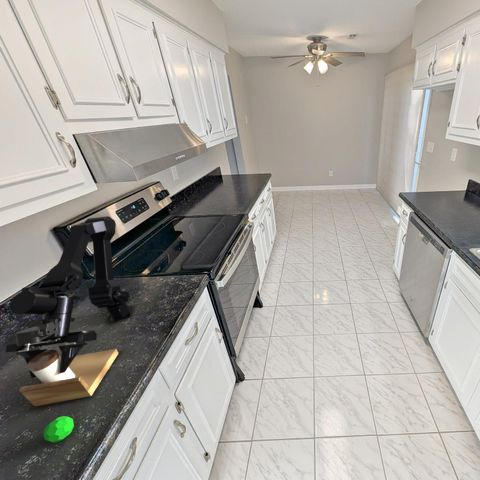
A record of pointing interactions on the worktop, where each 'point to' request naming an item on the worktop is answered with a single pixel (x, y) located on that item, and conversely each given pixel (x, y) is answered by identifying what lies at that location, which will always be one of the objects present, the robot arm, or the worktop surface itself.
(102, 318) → the worktop surface
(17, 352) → the robot arm
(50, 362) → the cylinder
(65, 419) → the polyhedron
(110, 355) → the wooden ramp
